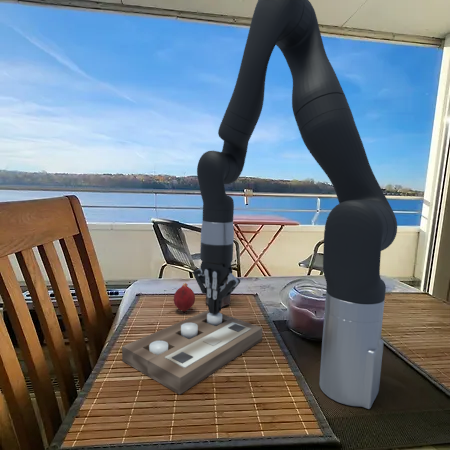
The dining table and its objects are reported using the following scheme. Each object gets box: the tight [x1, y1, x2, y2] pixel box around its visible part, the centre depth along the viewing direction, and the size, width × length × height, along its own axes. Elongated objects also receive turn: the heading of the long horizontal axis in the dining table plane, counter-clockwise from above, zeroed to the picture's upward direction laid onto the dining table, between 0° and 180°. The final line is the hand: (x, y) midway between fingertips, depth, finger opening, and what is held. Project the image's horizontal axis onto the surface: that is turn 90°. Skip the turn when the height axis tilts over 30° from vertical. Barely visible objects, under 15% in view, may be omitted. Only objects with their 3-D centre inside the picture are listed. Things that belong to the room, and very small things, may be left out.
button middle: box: [181, 323, 198, 339], centre depth 71 cm, size 4×4×2 cm
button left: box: [149, 341, 168, 355], centre depth 64 cm, size 4×4×2 cm
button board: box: [121, 309, 263, 395], centre depth 69 cm, size 16×26×3 cm, turn 142°
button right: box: [207, 312, 223, 326], centre depth 77 cm, size 4×4×2 cm
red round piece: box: [173, 282, 196, 313], centre depth 90 cm, size 6×6×8 cm
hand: (214, 312), depth 77 cm, fingers closed
